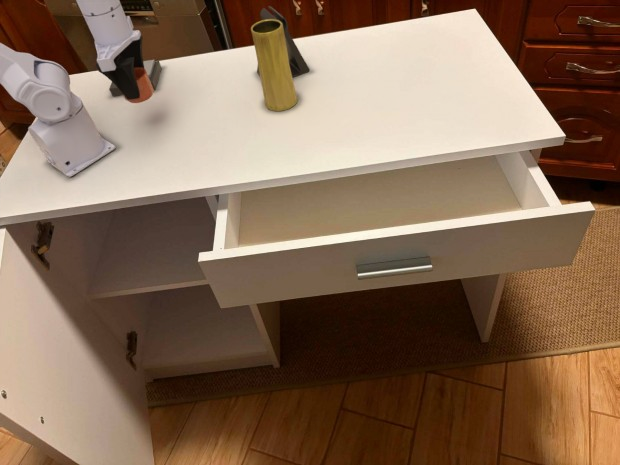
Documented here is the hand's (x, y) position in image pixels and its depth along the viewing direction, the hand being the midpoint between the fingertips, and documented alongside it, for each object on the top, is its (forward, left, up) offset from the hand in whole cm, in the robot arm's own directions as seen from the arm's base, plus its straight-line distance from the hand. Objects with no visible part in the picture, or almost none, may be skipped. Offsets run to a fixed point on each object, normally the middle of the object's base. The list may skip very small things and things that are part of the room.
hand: (136, 89), depth 81 cm
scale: (+9, +18, -8) cm, 22 cm away
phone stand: (+27, -8, -9) cm, 29 cm away
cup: (0, 0, -1) cm, 1 cm away
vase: (+19, -15, -9) cm, 25 cm away
